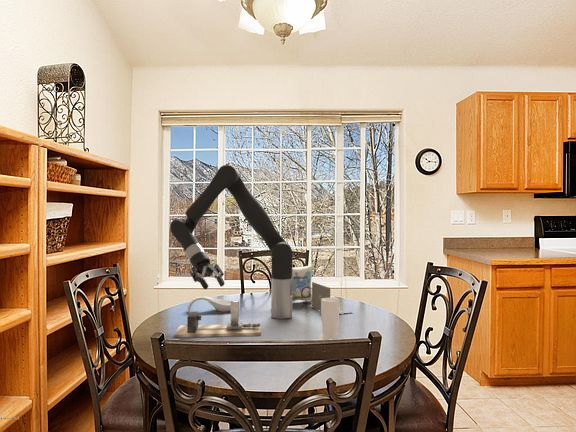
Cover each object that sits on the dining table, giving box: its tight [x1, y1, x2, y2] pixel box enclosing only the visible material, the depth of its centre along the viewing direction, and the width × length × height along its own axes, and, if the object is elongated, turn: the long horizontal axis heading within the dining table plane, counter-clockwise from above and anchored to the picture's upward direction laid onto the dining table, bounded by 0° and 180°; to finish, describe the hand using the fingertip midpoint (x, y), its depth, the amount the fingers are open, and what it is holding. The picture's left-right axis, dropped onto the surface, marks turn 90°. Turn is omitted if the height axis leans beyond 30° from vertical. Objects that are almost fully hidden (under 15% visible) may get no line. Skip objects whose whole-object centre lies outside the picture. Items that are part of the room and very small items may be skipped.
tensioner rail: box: [173, 310, 262, 338], centre depth 153 cm, size 32×12×7 cm, turn 95°
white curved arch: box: [186, 295, 232, 314], centre depth 186 cm, size 24×12×7 cm, turn 105°
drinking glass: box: [320, 297, 341, 341], centre depth 143 cm, size 7×7×15 cm
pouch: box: [292, 263, 314, 302], centre depth 203 cm, size 8×19×20 cm, turn 114°
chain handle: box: [226, 300, 261, 330], centre depth 154 cm, size 13×5×10 cm, turn 95°
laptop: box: [311, 281, 346, 313], centre depth 188 cm, size 18×12×13 cm
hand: (215, 286), depth 160 cm, fingers open, 8 cm apart
